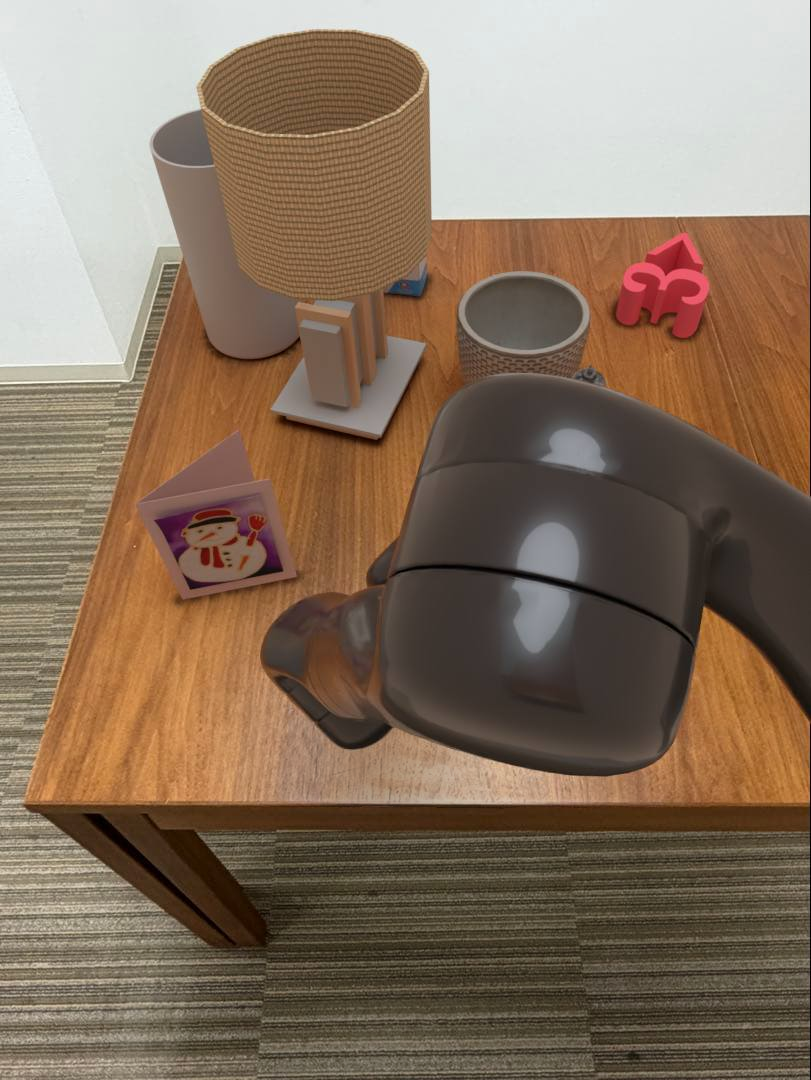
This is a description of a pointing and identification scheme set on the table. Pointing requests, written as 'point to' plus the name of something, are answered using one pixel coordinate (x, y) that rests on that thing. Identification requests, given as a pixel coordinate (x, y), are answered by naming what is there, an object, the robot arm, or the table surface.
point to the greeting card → (218, 524)
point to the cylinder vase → (216, 247)
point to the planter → (521, 326)
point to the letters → (666, 286)
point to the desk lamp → (328, 204)
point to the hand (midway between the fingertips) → (599, 393)
